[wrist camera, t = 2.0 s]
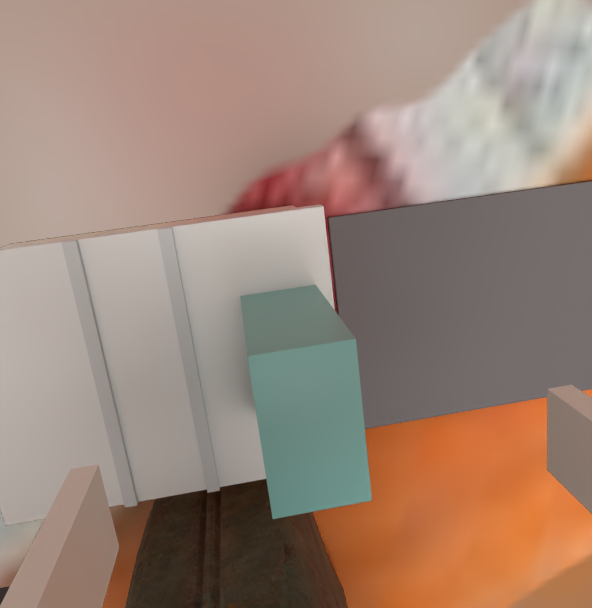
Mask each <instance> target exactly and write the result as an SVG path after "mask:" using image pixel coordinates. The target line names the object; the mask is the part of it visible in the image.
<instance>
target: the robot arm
mask: <svg viewBox="0 0 592 608" xmlns="http://www.w3.org/2000/svg"><path fill="white" fill-rule="evenodd" d="M547 470H548V471H549V472H550V473H551V474H552V475H553V476H554V477H555V478H556V479H557V480H558V481H559V482H560V483H561V484H562V485H563V486H564V487H565V488H566V489H567V490H568V491H569V492H570V493H571V494H572V495H573V496H574V497H575V498H576V499H577V500H578V501H579V502H580V503H581V504H582V505H583V506H584V507H585V508H586V509H587V510H588V511H589V512H590V513H591V514H592V398H591V397H590V396H588V395H587V394H585V393H584V392H582V391H581V390H579V389H578V388H576V387H575V386H573V385H567V386H561V387H555V388H549V389H547ZM118 550H119V544H118V540H117V536H116V532H115V528H114V524H113V520H112V516H111V512H110V508H109V504H108V500H107V496H106V492H105V488H104V484H103V480H102V476H101V472H100V468H99V464H98V465H92V466H86V467H80V468H74V469H70V471H69V473H68V475H67V477H66V479H65V481H64V483H63V485H62V487H61V489H60V490H59V492H58V494H57V496H56V498H55V500H54V502H53V504H52V506H51V508H50V510H49V512H48V514H47V516H46V518H45V520H44V522H43V523H42V525H41V527H40V529H39V531H38V533H37V535H36V537H35V539H34V541H33V543H32V545H31V547H30V549H29V551H28V553H27V555H26V556H25V558H24V560H23V562H22V564H21V566H20V568H19V570H18V572H17V574H16V576H15V578H14V580H13V582H12V584H11V586H10V587H4V588H0V608H102V606H103V603H104V599H105V596H106V592H107V589H108V585H109V582H110V578H111V575H112V571H113V568H114V564H115V561H116V557H117V554H118Z"/></svg>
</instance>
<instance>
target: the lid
mask: <svg viewBox="0 0 592 608" xmlns="http://www.w3.org/2000/svg"><path fill="white" fill-rule="evenodd" d="M98 464H99V468H100V472H101V476H102V480H103V484H104V488H105V492H106V496H107V500H108V504H109V507H113V506H118V505H124V506H125V508H127V507H132V506H137V505H138V502H140V501H146V500H151V499H157V498H162V497H168V496H173V495H179V494H184V493H190V492H195V491H201V490H206V489H207V493H209V492H215V491H220V487H223V486H229V485H234V484H240V483H245V482H251V481H256V480H262V479H266V480H267V486H268V493H269V499H270V505H271V512H272V518H273V519H276V518H282V517H287V516H292V515H298V514H303V513H308V512H314V511H319V510H324V509H329V508H335V507H340V506H345V505H351V504H356V503H361V502H367V501H372V496H371V486H370V476H369V466H368V456H367V446H366V436H365V426H364V416H363V406H362V396H361V386H360V375H359V365H358V355H357V345H356V338H355V337H354V336H353V334H352V333H351V332H350V330H349V329H348V328H347V326H346V325H345V323H344V322H343V321H342V319H341V318H340V317H339V315H338V314H337V313H336V311H335V308H334V299H333V290H332V280H331V271H330V262H329V253H328V244H327V234H326V225H325V216H324V207H323V206H322V205H320V204H319V205H312V206H304V207H297V208H290V209H283V210H275V211H268V212H261V213H253V214H246V215H239V216H231V217H224V218H217V219H210V220H202V221H195V222H188V223H180V224H173V225H166V226H158V227H151V228H144V229H137V230H129V231H122V232H115V233H107V234H100V235H93V236H85V237H78V238H71V239H64V240H56V241H49V242H42V243H34V244H27V245H20V246H12V247H5V248H0V509H1V513H2V516H3V519H4V522H5V525H6V526H8V525H13V524H19V523H24V522H30V521H35V520H41V519H45V518H46V516H47V514H48V512H49V510H50V508H51V506H52V504H53V502H54V500H55V498H56V496H57V494H58V492H59V490H60V489H61V487H62V485H63V483H64V481H65V479H66V477H67V475H68V473H69V471H70V469H74V468H80V467H86V466H92V465H98Z"/></svg>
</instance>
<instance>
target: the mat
mask: <svg viewBox="0 0 592 608" xmlns="http://www.w3.org/2000/svg"><path fill="white" fill-rule="evenodd" d="M328 226H329V236H330V245H331V254H332V264H333V273H334V282H335V292H336V301H337V311H338V315H339V317H340V318H341V319H342V321H343V322H344V323H345V325H346V326H347V328H348V329H349V330H350V332H351V333H352V334H353V336H354V337H355V338H356V345H357V355H358V365H359V375H360V386H361V396H362V406H363V416H364V426H365V429H367V428H373V427H379V426H384V425H390V424H396V423H401V422H407V421H413V420H418V419H424V418H430V417H435V416H441V415H447V414H453V413H458V412H464V411H470V410H475V409H481V408H487V407H492V406H498V405H504V404H509V403H515V402H521V401H526V400H532V399H538V398H544V397H547V389H549V388H555V387H561V386H567V385H573V386H575V387H576V388H578V389H579V390H581V391H583V390H589V389H592V181H586V182H579V183H572V184H565V185H557V186H550V187H543V188H536V189H529V190H521V191H514V192H507V193H500V194H493V195H486V196H478V197H471V198H464V199H457V200H450V201H443V202H435V203H428V204H421V205H414V206H407V207H399V208H392V209H385V210H378V211H371V212H364V213H356V214H349V215H342V216H335V217H328Z"/></svg>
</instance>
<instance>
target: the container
mask: <svg viewBox="0 0 592 608" xmlns="http://www.w3.org/2000/svg"><path fill="white" fill-rule="evenodd" d="M125 608H347V603H346V599H345V594H344V590H343V587H342V585H341V583H340V581H339V579H338V577H337V575H336V573H335V570H334V568H333V566H332V564H331V562H330V560H329V557H328V555H327V552H326V549H325V546H324V544H323V541H322V538H321V535H320V533H319V530H318V527H317V524H316V522H315V519H314V516H313V513H312V512H308V513H303V514H298V515H292V516H287V517H282V518H276V519H273V518H272V512H271V505H270V499H269V493H268V486H267V480H266V479H262V480H256V481H251V482H245V483H240V484H234V485H229V486H223V487H220V491H215V492H209V493H207V489H206V490H201V491H195V492H190V493H184V494H179V495H173V496H168V497H162V498H157V499H156V501H155V503H154V505H153V508H152V510H151V513H150V515H149V518H148V521H147V525H146V528H145V531H144V534H143V537H142V541H141V544H140V547H139V550H138V553H137V557H136V562H135V566H134V571H133V575H132V580H131V584H130V589H129V593H128V598H127V602H126V607H125Z"/></svg>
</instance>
